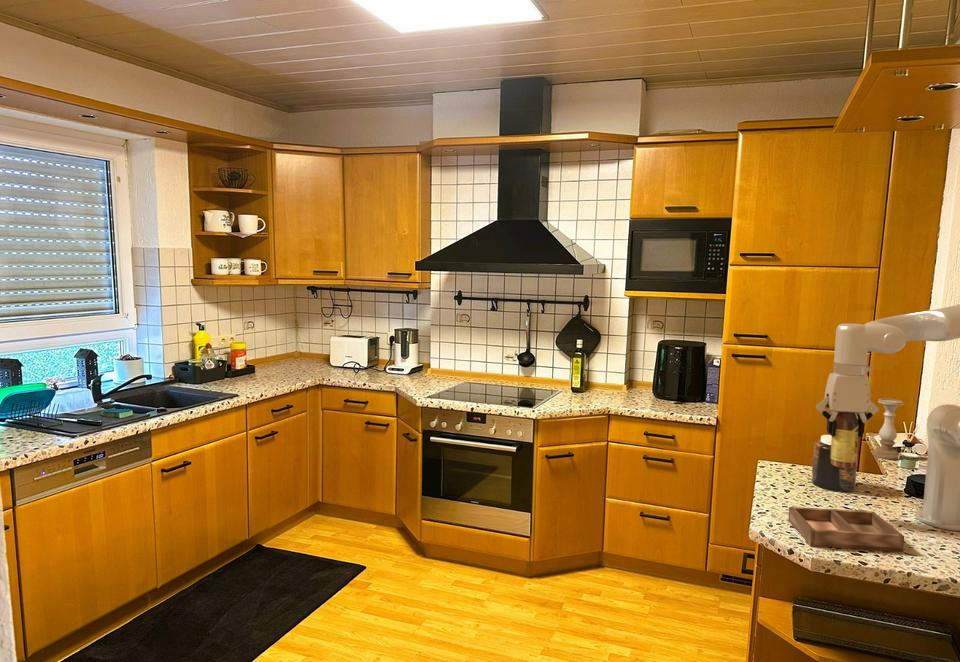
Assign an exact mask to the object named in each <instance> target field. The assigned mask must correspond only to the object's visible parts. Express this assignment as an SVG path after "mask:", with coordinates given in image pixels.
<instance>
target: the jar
mask: <svg viewBox="0 0 960 662" xmlns="http://www.w3.org/2000/svg"><path fill="white" fill-rule="evenodd" d="M831 437H832V436H831V435H829V434H822V435H821V436H820V440H817V441H815V442H814V446H813V453H812V467H811V468H812V469H811V483H812V485H814V486H816V487H817V488H819V489H823V490H827V491H831V492H838V493H839V492H840V493H851V492H854V491H855V490H856V481H857V470H858V469H857V467H858V461H857V462H856V467H855V468H851V469H847V468H839V467H835V466H833V465H832V464H831Z"/></svg>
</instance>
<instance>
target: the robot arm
mask: <svg viewBox="0 0 960 662" xmlns="http://www.w3.org/2000/svg"><path fill="white" fill-rule="evenodd" d="M835 329H836V330H835V343H834V356H833V357H834V359H833V372H832V373H831V372H830V373H829V375H828V378H827V382H826V387H825V391H824V397H823V399H822V400H820V402H819V403H816V405H815V409H816V410H817V411H818V412H820V413H821V416H823V417H824V418H825V419H826V432H827V435H831V436H835V432H836V422H835V421H834V420H835V418H836V416H837V414H838V412H851V413H855V414H856V417H857V420H858V423H859V428H858V438H863V437H864V436H863V435H864V434H865V426H866V423H867V422H868V420H870V419H871V418H873V416H874V415H875V414H877V412H879V411H880V409H879V407H878V406H877V405H876V404H875V403H874V402H873V401H872V400H871V387H870V380H869V376H868V375H867V374H868V372H872V366H870V365H868V362H867V361H868V352H873V353H874V352H875V353H880V354H881V353H882V354H887V355H889V354H895V353H898V352H900V351H901V350H902V349H904V348H905V346H906V344H907V342H918V341H919V342H946V341H948V342H949V341H952V340H953V341H954V340H957V339H960V304H955V305H950V306H946V307H941V308H936V309H930V310H929V309H928V310H924V311H919V312H913V313H912V312H911V313H906V314H899V315H893V316H889V317H884V318H879V319H875V320H872V321H869V322H866V323H864V324H861V323H848V322H847V323H840V324H838V326H837V327H836V328H835ZM825 408H827V409H828V411H827V410H826V409H825ZM926 431H927V443H928V447H927V448H928V449H927V450H928V451H927V459H926V460H927V462H926V472H925V479H924V480H925V481H924V482H925V483H924V494H923V504H922V508H919V509H917V510H915V514H914V515H915V517H916V519H917V520H918V521H921V522H922V523H924V524H926V525H929V526H931V527H936V528H938V529H943V530H949V531H954V532H955V531H956V532H960V406H959V405H956V404H947V403H946V404H941V405H938V406H936V407H934V408H933V409H932V410H931V411H930V412H929V414H928V416H927V420H926Z"/></svg>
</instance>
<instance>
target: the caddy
mask: <svg viewBox="0 0 960 662" xmlns="http://www.w3.org/2000/svg"><path fill="white" fill-rule="evenodd" d="M788 507H789V508H788V520H787V521H788V523H789V522H790V523H791V524H792V525H791V524H790V523H789V524H790V525H791V527H792V528H794V530H795V529H796V530H797V531H798V532H799V533H800V534H801V535H800V534H799V533H798V532H797V531H796V530H795V531H796V532H797V533H798V534H799V535H800V537H803V538H804V539H805V540H806V541H805V540H804V539H803V538H802V539H803V540H804V541H805V542H806V544H808V545H810V546H809V547H815V546H816V547H819V548H830V547H834V549H846V548H850V549H849V550H861V549H865V550H864V551H879V552H880V551H881V552H892V553H893V552H894V553H896V552H897V553H904V546H905V545H904V543H905V535H904V534H902V533H901V532H900V531H899V530H898V529H896V528H895V527H894V526H893V525H891V523H889V522H888V521H886V520H885V519H884V518H883V517H881V516H880V515H879V514H878V513H876V512H875V511H869V510H851V509H836V508H835V509H833V508H818V507H817V508H815V507H800V506H788Z"/></svg>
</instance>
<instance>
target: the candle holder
mask: <svg viewBox="0 0 960 662" xmlns="http://www.w3.org/2000/svg"><path fill="white" fill-rule="evenodd" d="M877 402H878V403H879V404H882V405H883V408H884V409H885V411H884V413H883V416H884V422H883V425H882V427H881V428H880V430H879V432H878V436H879V437H880V439H879V443H880V445H881V446H880V447H876V448H875V449H873V450H871V455H873V456H874V457H876V458H881V459H884V460H885V459H886V460H899V459H898V455H899V454H900V453H899V452H898V450H895V449H893V447H894V446H895V445H896V442H895V440H896V439H897V438H898V437H897V436H898V433H897V430H896V428H895V425H894V424H895V423H894V422H895V417H897V415H896V413H895V411H896V409H898V407H899V406H903V405H904V401H902V400H899V399H896V398H894V399H893V398H878V400H877Z"/></svg>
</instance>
